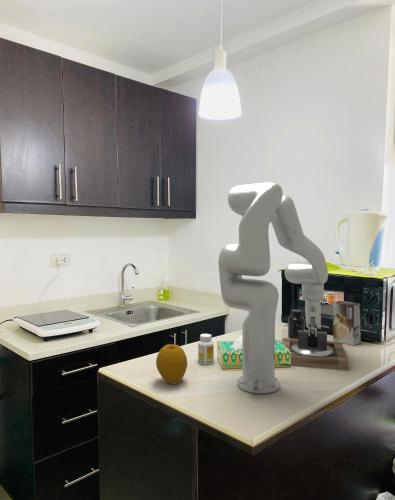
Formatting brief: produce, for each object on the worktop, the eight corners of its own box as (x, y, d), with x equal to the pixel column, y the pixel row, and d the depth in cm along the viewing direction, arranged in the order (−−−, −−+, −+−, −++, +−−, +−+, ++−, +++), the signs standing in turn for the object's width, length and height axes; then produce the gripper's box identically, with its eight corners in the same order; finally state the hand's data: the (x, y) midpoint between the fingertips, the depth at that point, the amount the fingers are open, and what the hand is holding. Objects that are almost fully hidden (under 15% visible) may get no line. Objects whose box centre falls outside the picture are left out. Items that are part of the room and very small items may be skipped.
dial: (334, 360, 130) (334, 338, 130) (291, 357, 134) (291, 336, 133) (331, 347, 144) (331, 328, 143) (292, 345, 147) (292, 325, 147)
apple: (149, 381, 118) (149, 343, 117) (175, 373, 124) (174, 337, 123) (168, 391, 111) (167, 351, 110) (194, 382, 117) (193, 344, 116)
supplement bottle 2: (284, 336, 164) (285, 309, 163) (298, 335, 166) (299, 308, 165) (293, 341, 157) (293, 312, 157) (307, 339, 159) (308, 311, 159)
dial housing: (347, 370, 125) (347, 360, 125) (279, 364, 131) (279, 355, 131) (341, 349, 146) (341, 341, 146) (282, 345, 152) (282, 337, 152)
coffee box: (361, 342, 155) (361, 303, 154) (353, 346, 151) (354, 305, 150) (339, 337, 162) (340, 300, 161) (332, 341, 157) (332, 302, 156)
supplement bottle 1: (214, 359, 136) (213, 333, 136) (213, 365, 131) (213, 337, 130) (199, 359, 137) (198, 332, 136) (197, 364, 132) (197, 337, 131)
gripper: (324, 300, 128) (324, 352, 129) (322, 291, 145) (322, 338, 146) (301, 299, 130) (301, 350, 131) (301, 291, 147) (301, 336, 148)
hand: (312, 343), depth 139 cm, fingers open, 7 cm apart
